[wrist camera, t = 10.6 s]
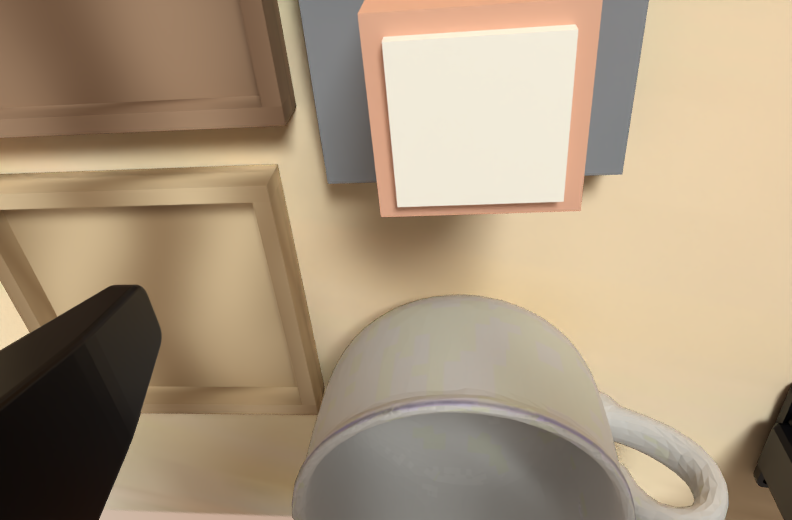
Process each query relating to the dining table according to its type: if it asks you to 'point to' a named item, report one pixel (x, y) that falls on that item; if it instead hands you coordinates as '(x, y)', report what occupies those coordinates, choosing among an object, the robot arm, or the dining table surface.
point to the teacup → (483, 427)
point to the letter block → (479, 103)
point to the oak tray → (174, 276)
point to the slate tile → (347, 98)
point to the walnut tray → (141, 66)
